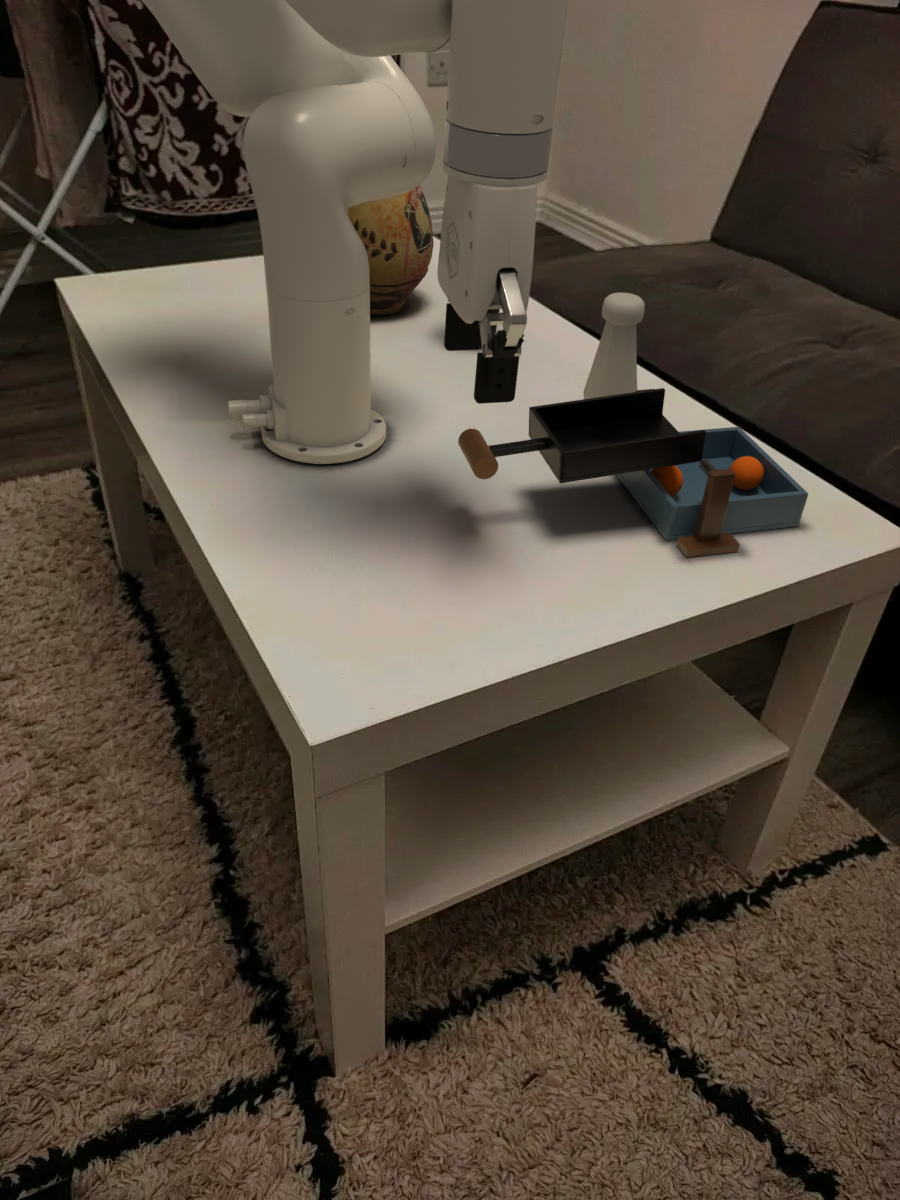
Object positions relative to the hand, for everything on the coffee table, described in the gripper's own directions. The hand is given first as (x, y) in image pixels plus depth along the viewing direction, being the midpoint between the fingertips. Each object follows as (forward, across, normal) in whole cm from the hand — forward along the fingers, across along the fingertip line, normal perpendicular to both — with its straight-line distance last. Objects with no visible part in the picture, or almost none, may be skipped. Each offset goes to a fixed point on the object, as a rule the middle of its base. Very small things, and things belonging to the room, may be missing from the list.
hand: (477, 373), depth 79 cm
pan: (+8, +1, +10) cm, 12 cm away
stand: (+13, +1, +20) cm, 24 cm away
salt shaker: (+14, -17, +21) cm, 30 cm away
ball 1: (+11, +1, +19) cm, 22 cm away
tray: (+13, +1, +23) cm, 27 cm away
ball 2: (+11, +1, +27) cm, 30 cm away
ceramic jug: (+15, -54, +2) cm, 56 cm away
